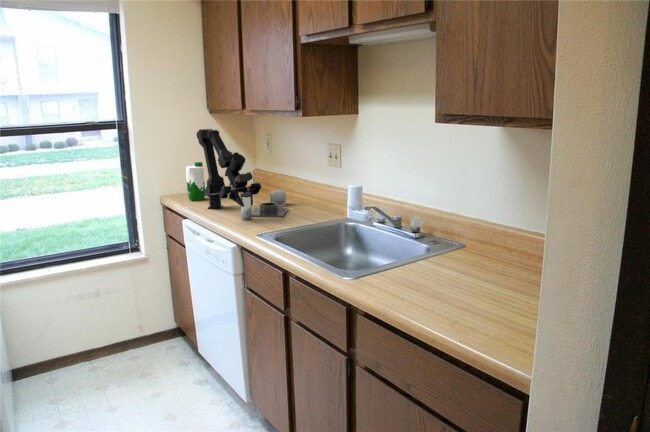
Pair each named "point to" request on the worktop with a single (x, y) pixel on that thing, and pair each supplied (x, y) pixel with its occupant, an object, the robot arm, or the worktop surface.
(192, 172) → the milk carton
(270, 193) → the ceramic mug
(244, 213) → the black capped shaker
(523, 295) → the worktop surface
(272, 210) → the firebox collar
